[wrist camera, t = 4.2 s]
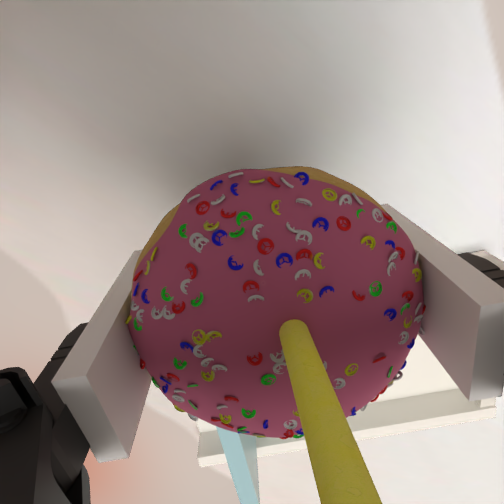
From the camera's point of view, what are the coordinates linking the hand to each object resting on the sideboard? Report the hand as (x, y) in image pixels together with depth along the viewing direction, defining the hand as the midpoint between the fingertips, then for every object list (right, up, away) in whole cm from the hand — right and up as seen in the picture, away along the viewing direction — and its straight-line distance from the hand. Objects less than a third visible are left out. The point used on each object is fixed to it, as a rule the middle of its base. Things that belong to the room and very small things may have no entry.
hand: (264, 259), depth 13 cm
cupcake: (0, 0, +1) cm, 1 cm away
